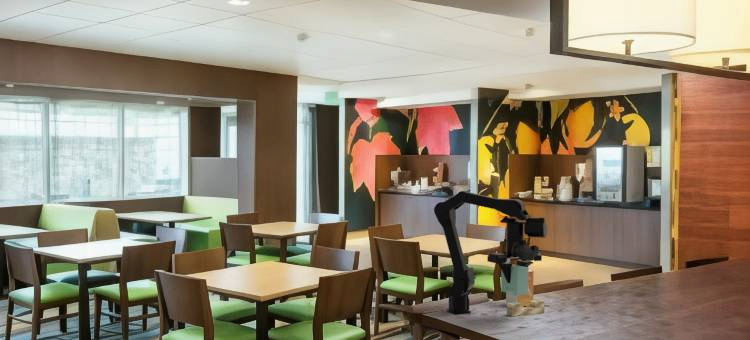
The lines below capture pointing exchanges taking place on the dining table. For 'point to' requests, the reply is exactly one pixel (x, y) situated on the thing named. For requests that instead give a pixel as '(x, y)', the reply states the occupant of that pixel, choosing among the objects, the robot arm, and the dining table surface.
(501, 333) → the dining table surface
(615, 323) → the dining table surface
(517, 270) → the teal block
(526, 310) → the maple rail
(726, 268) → the dining table surface
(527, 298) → the small box
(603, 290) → the dining table surface
